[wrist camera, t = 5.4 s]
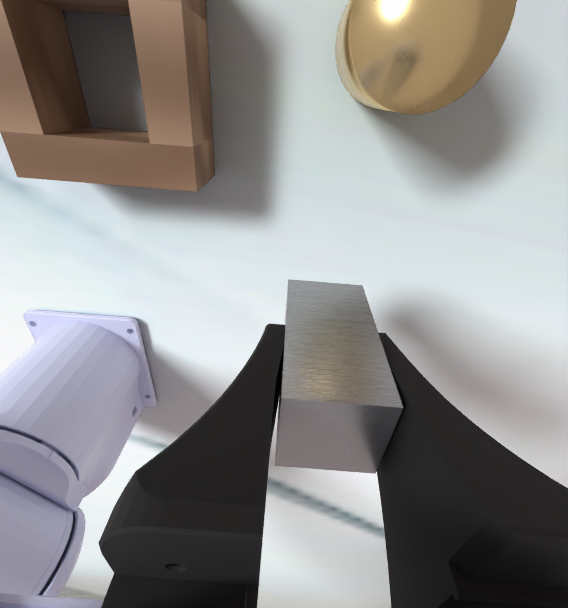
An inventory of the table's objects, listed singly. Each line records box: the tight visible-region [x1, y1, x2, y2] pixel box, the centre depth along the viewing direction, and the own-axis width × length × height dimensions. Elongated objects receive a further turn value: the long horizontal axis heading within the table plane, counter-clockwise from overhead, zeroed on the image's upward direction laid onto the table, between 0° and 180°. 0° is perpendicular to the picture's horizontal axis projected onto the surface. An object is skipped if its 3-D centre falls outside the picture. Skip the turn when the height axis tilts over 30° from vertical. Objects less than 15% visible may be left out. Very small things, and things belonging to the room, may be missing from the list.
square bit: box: [275, 280, 403, 473], centre depth 11 cm, size 3×3×6 cm
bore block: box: [0, 0, 215, 192], centre depth 13 cm, size 8×8×4 cm
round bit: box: [335, 0, 517, 114], centre depth 12 cm, size 5×5×5 cm
